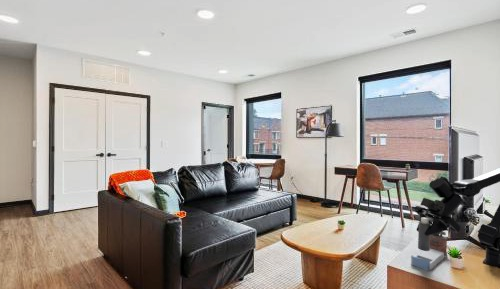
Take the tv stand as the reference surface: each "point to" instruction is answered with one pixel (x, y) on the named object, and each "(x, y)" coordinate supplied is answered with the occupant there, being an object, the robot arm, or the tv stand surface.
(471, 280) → the tv stand surface
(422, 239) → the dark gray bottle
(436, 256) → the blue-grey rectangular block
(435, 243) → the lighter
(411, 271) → the tv stand surface
